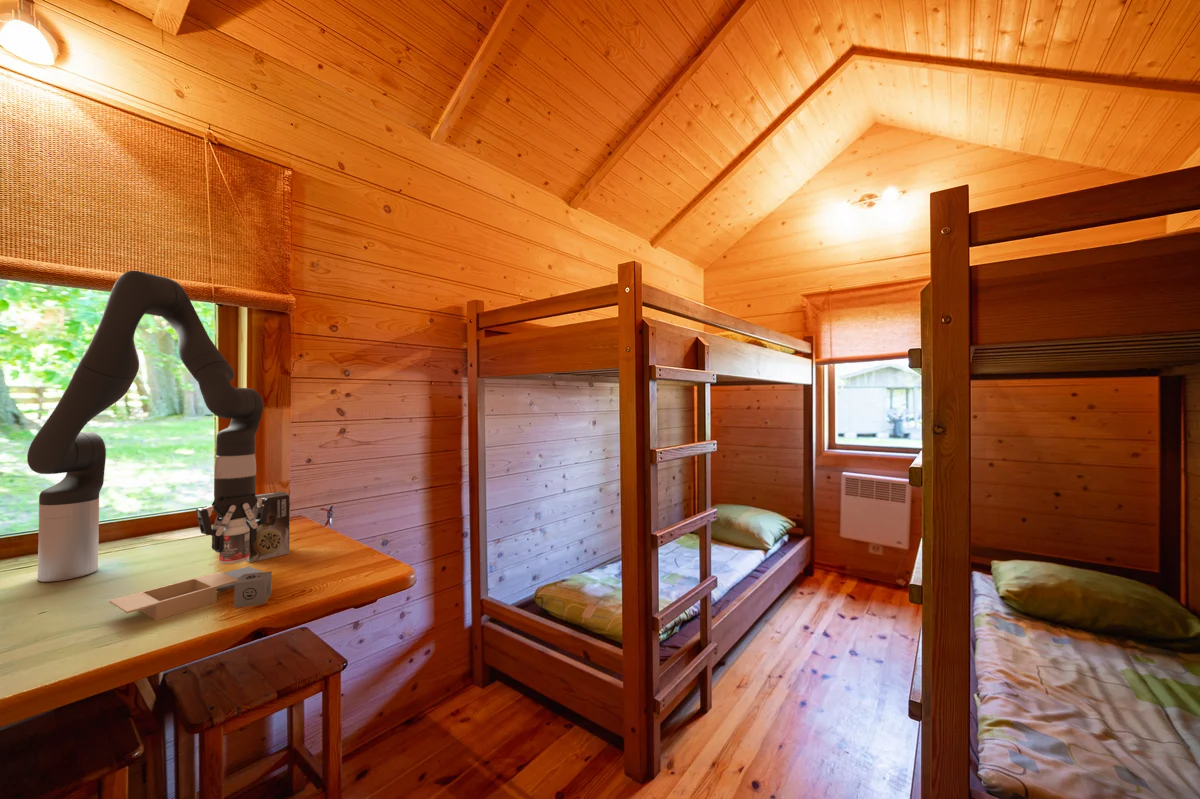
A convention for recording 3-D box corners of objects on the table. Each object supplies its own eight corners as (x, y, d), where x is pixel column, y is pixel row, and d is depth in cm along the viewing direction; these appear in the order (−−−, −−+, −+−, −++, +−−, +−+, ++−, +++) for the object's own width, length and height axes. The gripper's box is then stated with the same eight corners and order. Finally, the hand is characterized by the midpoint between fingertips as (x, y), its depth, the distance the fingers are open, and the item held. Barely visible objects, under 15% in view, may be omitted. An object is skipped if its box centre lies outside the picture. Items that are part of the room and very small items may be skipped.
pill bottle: (215, 566, 102) (216, 522, 102) (223, 558, 107) (224, 516, 107) (245, 563, 104) (246, 519, 104) (252, 555, 109) (252, 514, 109)
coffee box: (282, 549, 127) (282, 490, 127) (290, 554, 123) (290, 494, 123) (241, 557, 120) (242, 495, 120) (248, 563, 116) (249, 499, 116)
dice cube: (242, 598, 96) (243, 574, 96) (271, 594, 98) (271, 571, 98) (234, 608, 91) (234, 583, 91) (264, 604, 93) (264, 579, 93)
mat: (197, 582, 103) (197, 580, 103) (248, 568, 112) (248, 566, 112) (217, 591, 98) (217, 589, 98) (269, 576, 107) (269, 574, 107)
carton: (108, 617, 87) (108, 600, 87) (219, 586, 102) (219, 571, 102) (126, 629, 82) (126, 611, 82) (239, 594, 97) (239, 579, 97)
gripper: (262, 469, 114) (261, 537, 113) (188, 477, 101) (187, 554, 101) (278, 471, 110) (277, 542, 110) (204, 480, 97) (203, 560, 97)
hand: (234, 547), depth 105 cm, fingers closed on pill bottle, 5 cm apart
